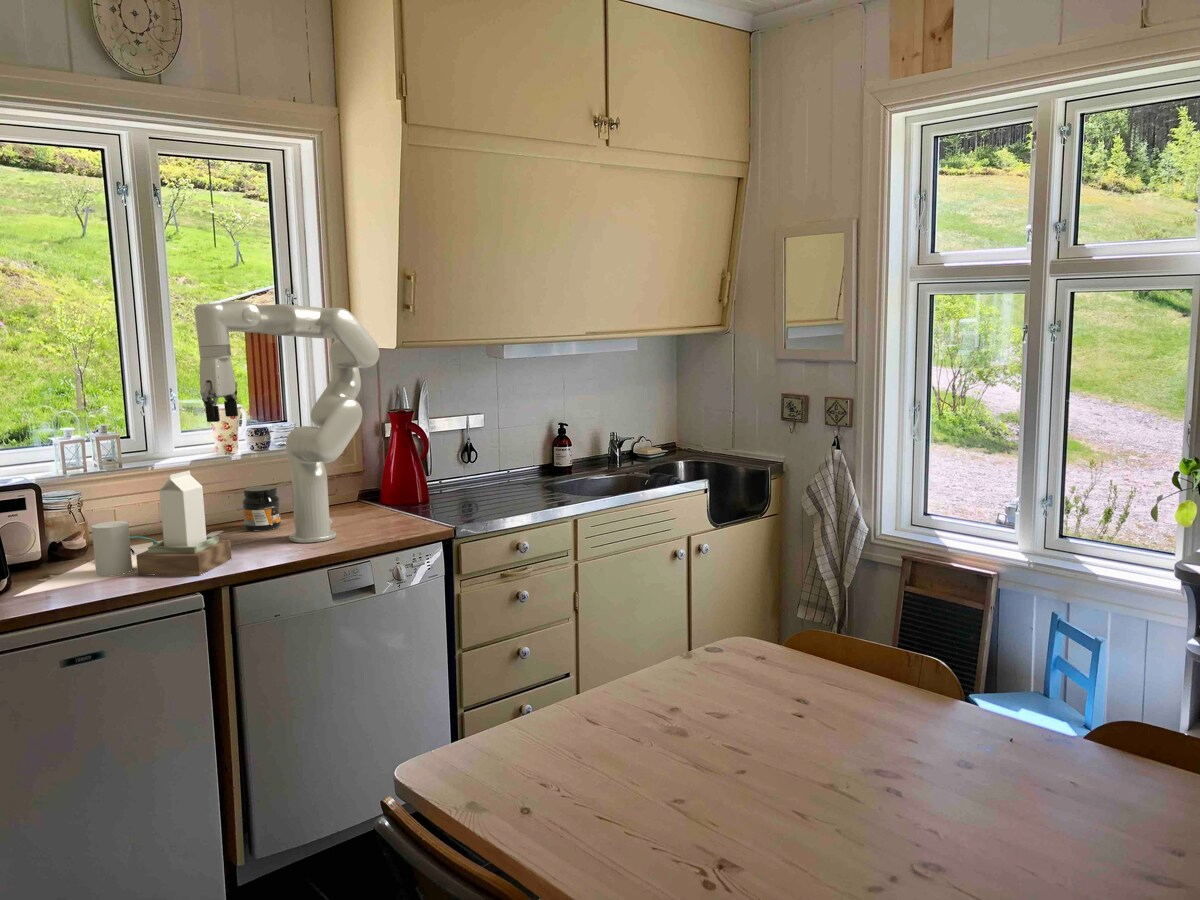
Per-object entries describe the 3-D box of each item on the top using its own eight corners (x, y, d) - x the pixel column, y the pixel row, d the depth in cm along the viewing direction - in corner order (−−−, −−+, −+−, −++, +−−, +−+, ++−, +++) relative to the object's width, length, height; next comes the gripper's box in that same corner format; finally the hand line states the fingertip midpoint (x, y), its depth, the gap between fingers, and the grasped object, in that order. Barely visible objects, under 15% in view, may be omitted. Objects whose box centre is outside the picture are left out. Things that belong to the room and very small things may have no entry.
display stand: (173, 558, 255) (171, 534, 254) (231, 559, 253) (229, 534, 252) (137, 575, 239) (135, 549, 238) (199, 575, 237) (197, 549, 236)
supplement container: (260, 533, 283) (257, 492, 281) (236, 529, 289) (233, 489, 287) (289, 526, 292) (286, 486, 290) (265, 523, 297) (262, 484, 296)
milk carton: (207, 544, 248) (201, 470, 245) (187, 551, 241) (181, 475, 238) (183, 543, 250) (177, 470, 247) (164, 549, 243) (157, 474, 240)
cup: (139, 567, 246) (135, 521, 245) (120, 576, 238) (115, 528, 237) (108, 567, 247) (104, 521, 245) (88, 576, 239) (84, 528, 237)
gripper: (217, 350, 257) (225, 414, 260) (183, 355, 241) (191, 424, 243) (245, 349, 257) (252, 413, 260) (212, 354, 240) (220, 423, 243)
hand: (222, 419), depth 251 cm, fingers open, 9 cm apart
